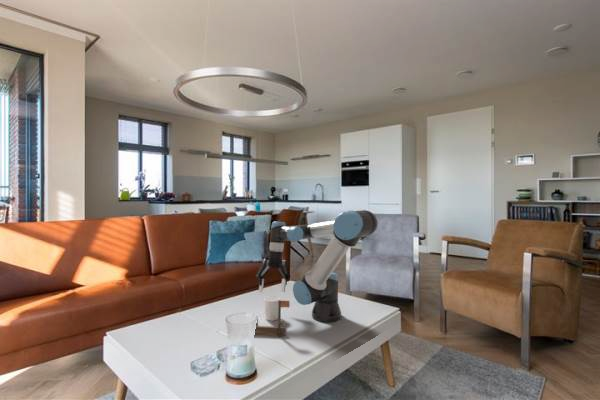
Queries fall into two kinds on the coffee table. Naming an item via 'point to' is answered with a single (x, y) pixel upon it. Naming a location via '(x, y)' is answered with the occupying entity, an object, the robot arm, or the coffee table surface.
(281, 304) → the wooden cup stand
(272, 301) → the white cup
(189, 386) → the coffee table surface
